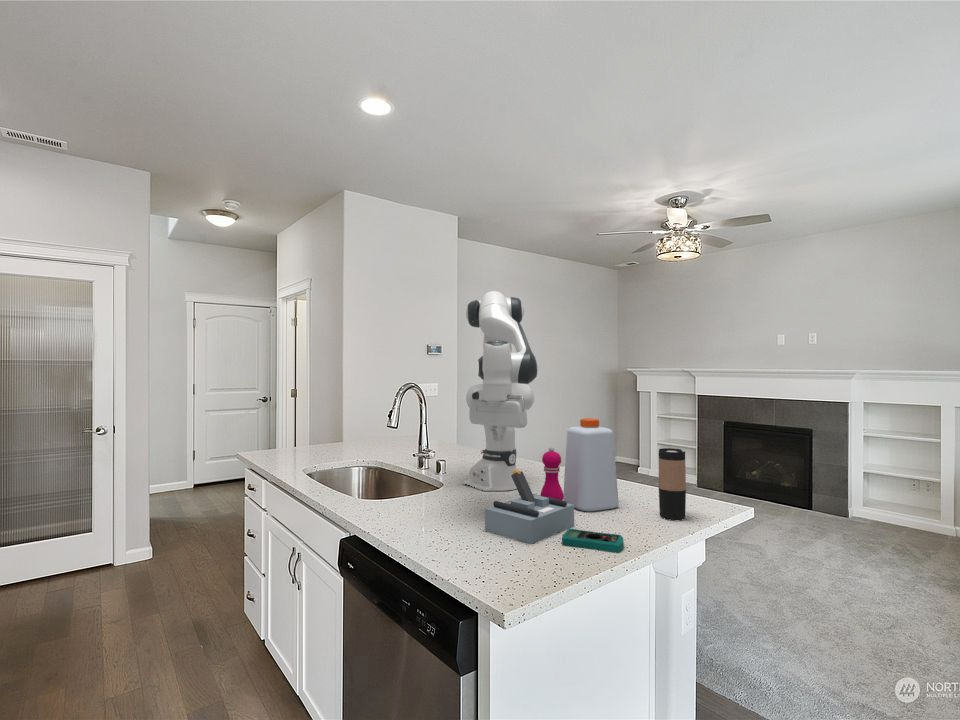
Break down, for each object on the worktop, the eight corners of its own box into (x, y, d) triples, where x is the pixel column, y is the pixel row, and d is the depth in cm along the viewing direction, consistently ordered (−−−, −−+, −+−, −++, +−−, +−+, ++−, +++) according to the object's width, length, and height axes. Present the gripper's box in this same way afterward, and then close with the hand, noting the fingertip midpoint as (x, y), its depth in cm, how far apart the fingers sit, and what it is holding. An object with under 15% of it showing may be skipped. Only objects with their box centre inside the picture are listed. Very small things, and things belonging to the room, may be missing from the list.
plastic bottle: (624, 508, 159) (623, 420, 160) (583, 513, 154) (582, 422, 154) (596, 497, 173) (595, 416, 174) (558, 501, 168) (557, 418, 168)
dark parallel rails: (491, 506, 140) (491, 501, 140) (524, 496, 151) (524, 491, 151) (536, 518, 130) (536, 511, 130) (568, 506, 140) (568, 500, 140)
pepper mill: (563, 513, 154) (562, 448, 154) (539, 512, 155) (539, 447, 156) (564, 507, 161) (563, 444, 161) (541, 506, 162) (541, 444, 163)
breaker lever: (525, 508, 140) (508, 472, 144) (531, 506, 142) (515, 470, 146) (530, 505, 138) (514, 468, 142) (537, 503, 140) (520, 466, 145)
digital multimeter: (621, 555, 121) (621, 543, 121) (560, 547, 127) (560, 535, 127) (625, 545, 128) (624, 534, 128) (567, 538, 133) (567, 526, 134)
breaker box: (484, 530, 139) (484, 501, 139) (529, 514, 153) (529, 488, 153) (530, 544, 127) (530, 512, 128) (574, 525, 142) (574, 497, 142)
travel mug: (654, 517, 150) (653, 450, 150) (665, 511, 155) (665, 447, 156) (679, 522, 144) (678, 453, 145) (690, 516, 150) (689, 450, 150)
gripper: (531, 395, 144) (532, 443, 144) (480, 393, 158) (480, 437, 158) (517, 395, 140) (518, 445, 139) (465, 394, 154) (466, 439, 153)
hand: (497, 441), depth 149 cm, fingers closed
